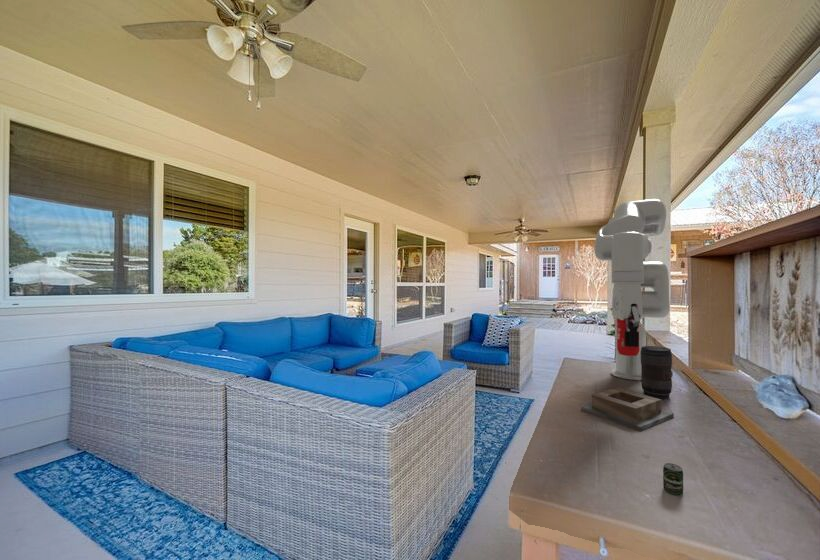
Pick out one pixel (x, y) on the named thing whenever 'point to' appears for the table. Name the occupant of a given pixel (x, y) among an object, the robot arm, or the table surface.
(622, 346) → the beverage can
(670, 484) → the beer can
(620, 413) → the can holder
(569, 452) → the table surface
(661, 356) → the camera lens
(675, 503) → the table surface
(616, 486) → the table surface
